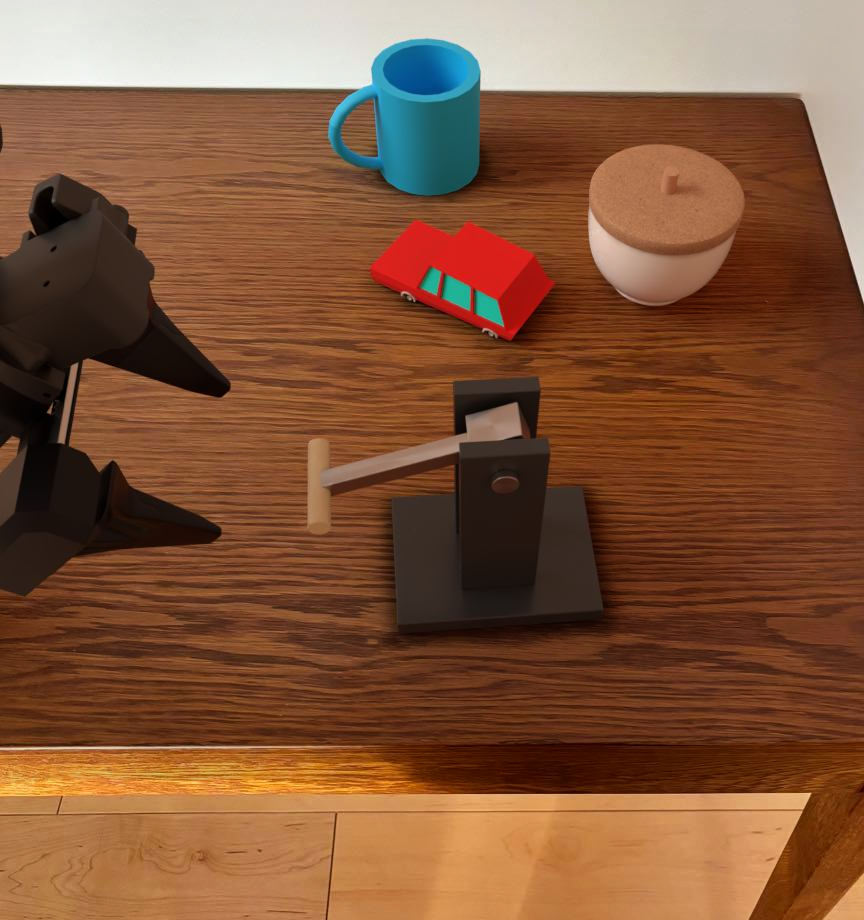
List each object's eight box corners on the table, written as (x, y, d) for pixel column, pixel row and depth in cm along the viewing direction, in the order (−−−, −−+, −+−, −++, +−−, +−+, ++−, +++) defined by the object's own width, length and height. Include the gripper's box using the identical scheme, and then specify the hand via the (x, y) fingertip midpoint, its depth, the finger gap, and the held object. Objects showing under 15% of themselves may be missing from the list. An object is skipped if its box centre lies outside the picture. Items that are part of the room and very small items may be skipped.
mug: (461, 124, 85) (461, 31, 78) (492, 184, 81) (495, 91, 74) (322, 150, 83) (309, 55, 76) (346, 213, 79) (335, 119, 72)
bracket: (398, 634, 59) (382, 496, 47) (392, 507, 64) (376, 354, 52) (601, 619, 60) (634, 481, 48) (580, 496, 65) (605, 343, 53)
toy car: (418, 236, 78) (416, 192, 74) (555, 294, 75) (560, 251, 71) (370, 286, 74) (366, 243, 71) (512, 349, 71) (515, 307, 68)
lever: (318, 542, 53) (298, 519, 51) (318, 459, 56) (299, 434, 54) (538, 488, 51) (525, 461, 49) (525, 404, 54) (514, 376, 52)
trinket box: (630, 348, 72) (651, 243, 64) (552, 256, 77) (562, 149, 69) (750, 298, 75) (783, 193, 67) (667, 213, 80) (690, 106, 72)
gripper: (-79, 380, 31) (323, 547, 42) (18, 39, 42) (322, 240, 52) (-203, 536, 37) (174, 648, 48) (-93, 204, 47) (199, 356, 58)
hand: (222, 460), depth 51 cm, fingers open, 9 cm apart
